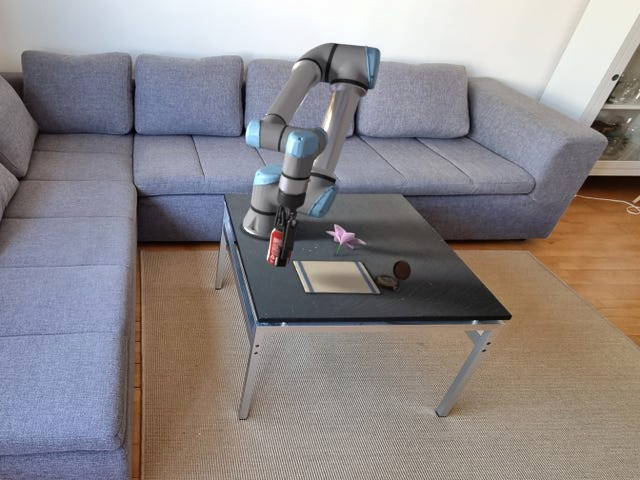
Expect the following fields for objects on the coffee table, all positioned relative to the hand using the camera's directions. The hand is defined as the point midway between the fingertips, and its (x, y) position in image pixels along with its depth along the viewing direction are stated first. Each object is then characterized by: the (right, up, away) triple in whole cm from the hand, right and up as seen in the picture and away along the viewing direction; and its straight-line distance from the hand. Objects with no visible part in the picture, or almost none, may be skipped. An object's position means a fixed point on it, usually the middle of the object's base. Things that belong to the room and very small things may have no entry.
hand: (278, 259), depth 134 cm
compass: (+34, -8, +1) cm, 35 cm away
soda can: (0, -1, +1) cm, 1 cm away
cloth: (+18, -5, +3) cm, 20 cm away
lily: (+26, +3, +16) cm, 30 cm away
